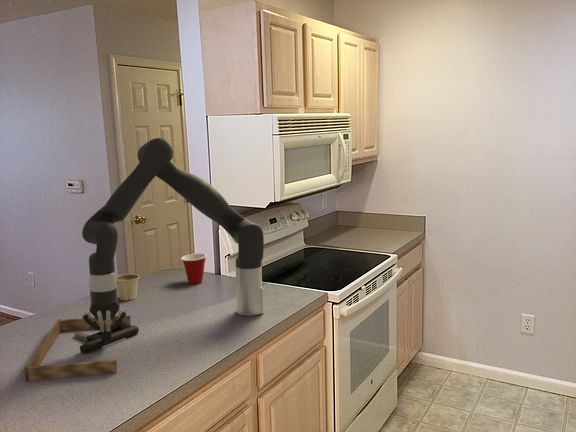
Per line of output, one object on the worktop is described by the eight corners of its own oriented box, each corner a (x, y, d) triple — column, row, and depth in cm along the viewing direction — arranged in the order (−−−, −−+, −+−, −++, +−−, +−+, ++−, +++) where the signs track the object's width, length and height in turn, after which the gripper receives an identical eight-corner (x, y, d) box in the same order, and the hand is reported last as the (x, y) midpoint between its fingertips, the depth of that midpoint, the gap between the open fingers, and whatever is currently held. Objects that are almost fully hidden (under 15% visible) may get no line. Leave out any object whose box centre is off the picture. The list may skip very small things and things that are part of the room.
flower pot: (118, 294, 205) (117, 274, 204) (142, 294, 206) (141, 273, 204) (113, 302, 196) (111, 280, 194) (138, 301, 197) (136, 280, 195)
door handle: (56, 337, 158) (86, 346, 149) (112, 318, 174) (142, 325, 165) (58, 347, 159) (87, 357, 149) (113, 327, 175) (143, 335, 165)
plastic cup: (181, 280, 225) (180, 253, 223) (206, 278, 228) (205, 252, 226) (182, 287, 215) (181, 259, 213) (208, 285, 217) (207, 257, 215)
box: (130, 324, 174) (130, 314, 173) (116, 373, 139) (115, 360, 138) (58, 329, 169) (58, 319, 169) (25, 381, 134) (24, 368, 134)
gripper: (127, 282, 157) (130, 335, 159) (82, 284, 154) (86, 339, 157) (125, 289, 149) (128, 345, 152) (77, 292, 147) (81, 349, 150)
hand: (106, 342), depth 154 cm, fingers closed
